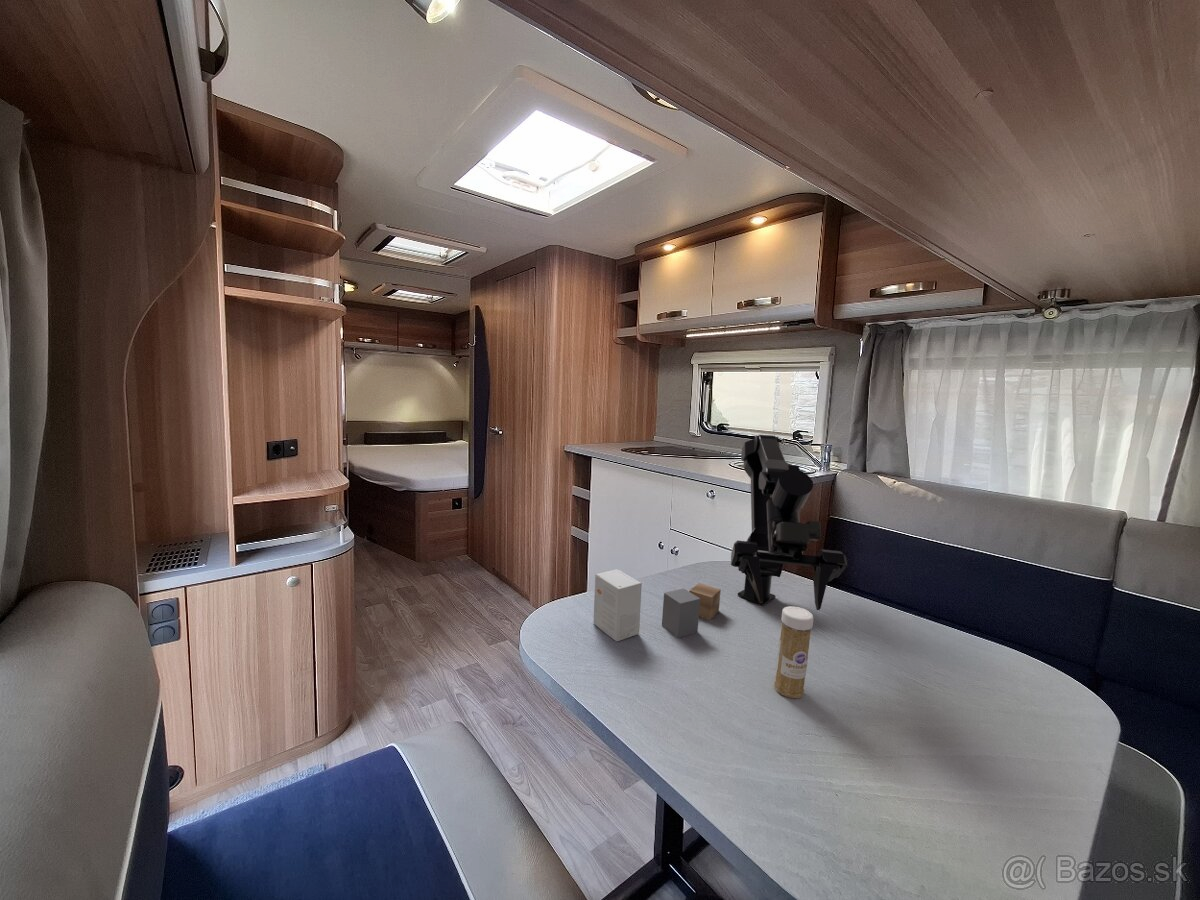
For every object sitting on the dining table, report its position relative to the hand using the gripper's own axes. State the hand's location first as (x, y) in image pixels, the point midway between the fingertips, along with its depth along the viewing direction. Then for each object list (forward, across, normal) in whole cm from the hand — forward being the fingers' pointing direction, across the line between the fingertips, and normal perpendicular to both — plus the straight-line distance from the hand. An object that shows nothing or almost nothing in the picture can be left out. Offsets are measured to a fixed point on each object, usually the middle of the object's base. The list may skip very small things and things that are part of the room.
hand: (789, 605), depth 79 cm
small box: (+4, -30, +13) cm, 33 cm away
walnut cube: (-4, -13, +21) cm, 25 cm away
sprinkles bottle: (+12, 0, +5) cm, 13 cm away
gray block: (+2, -18, +15) cm, 23 cm away
